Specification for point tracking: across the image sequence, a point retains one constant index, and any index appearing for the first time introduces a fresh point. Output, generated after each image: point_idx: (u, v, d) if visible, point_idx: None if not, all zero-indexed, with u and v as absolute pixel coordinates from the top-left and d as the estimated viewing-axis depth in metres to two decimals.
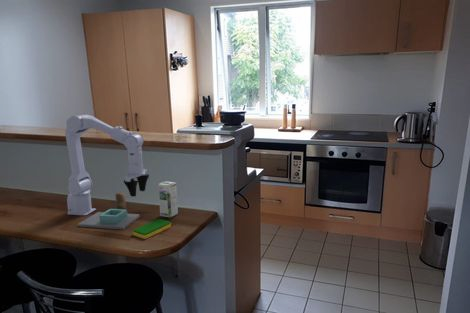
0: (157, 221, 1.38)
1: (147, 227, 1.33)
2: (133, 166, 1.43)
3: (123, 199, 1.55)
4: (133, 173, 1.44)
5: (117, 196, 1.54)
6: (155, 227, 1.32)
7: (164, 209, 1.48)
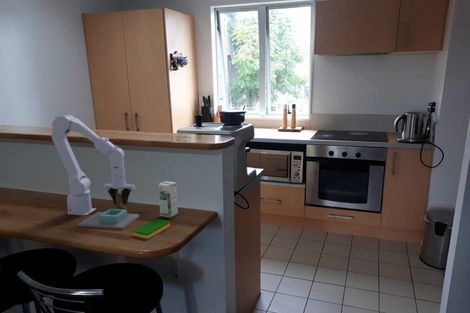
0: (156, 221, 1.38)
1: (148, 227, 1.32)
2: None
3: None
4: None
5: (117, 196, 1.54)
6: (156, 227, 1.33)
7: (164, 209, 1.48)
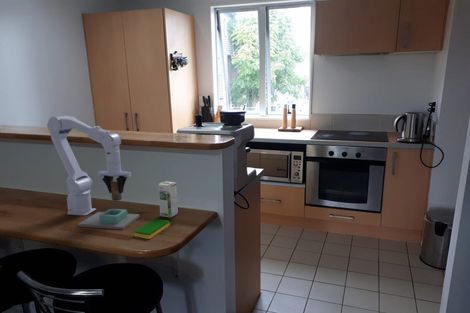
0: (155, 221, 1.38)
1: (148, 227, 1.32)
2: None
3: None
4: None
5: (112, 184, 1.46)
6: (156, 227, 1.33)
7: (164, 209, 1.48)
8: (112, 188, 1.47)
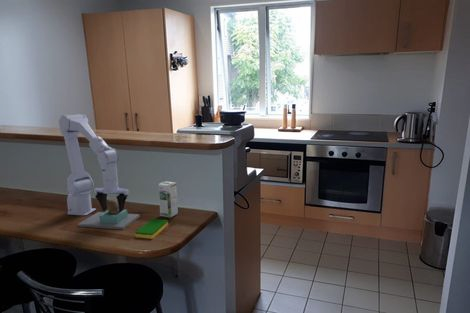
0: (153, 221, 1.38)
1: (149, 227, 1.32)
2: None
3: (116, 207, 1.42)
4: None
5: (109, 204, 1.41)
6: (157, 226, 1.33)
7: (165, 209, 1.48)
8: (109, 208, 1.41)
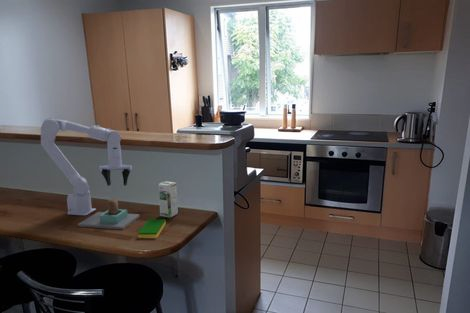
0: (151, 221, 1.38)
1: (150, 227, 1.32)
2: None
3: (116, 207, 1.42)
4: None
5: (109, 204, 1.41)
6: (157, 226, 1.33)
7: (164, 209, 1.48)
8: (109, 208, 1.41)
